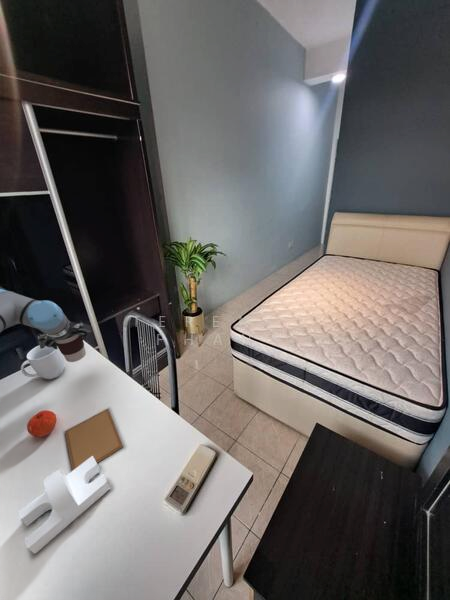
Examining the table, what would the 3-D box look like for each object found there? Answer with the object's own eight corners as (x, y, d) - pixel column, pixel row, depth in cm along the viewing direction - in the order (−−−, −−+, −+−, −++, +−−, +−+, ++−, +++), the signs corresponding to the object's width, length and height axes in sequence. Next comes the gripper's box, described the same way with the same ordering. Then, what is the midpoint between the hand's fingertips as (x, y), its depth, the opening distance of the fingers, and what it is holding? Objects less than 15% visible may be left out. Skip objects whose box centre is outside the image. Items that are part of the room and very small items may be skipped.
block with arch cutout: (96, 462, 74) (84, 441, 68) (110, 488, 68) (99, 467, 62) (24, 517, 63) (3, 497, 57) (34, 554, 57) (11, 536, 51)
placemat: (65, 431, 83) (64, 431, 83) (108, 409, 91) (107, 408, 90) (74, 478, 70) (73, 477, 70) (123, 447, 78) (122, 446, 77)
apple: (45, 444, 80) (35, 428, 76) (27, 438, 82) (16, 423, 78) (65, 422, 87) (57, 407, 83) (47, 417, 89) (38, 402, 85)
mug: (27, 391, 100) (12, 367, 94) (30, 375, 108) (16, 352, 102) (69, 376, 107) (57, 352, 100) (68, 361, 115) (57, 339, 109)
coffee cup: (59, 357, 100) (44, 326, 93) (85, 345, 106) (73, 316, 99) (66, 368, 94) (51, 337, 87) (93, 355, 100) (81, 325, 93)
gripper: (17, 350, 74) (40, 361, 94) (97, 325, 84) (103, 339, 104) (11, 328, 76) (35, 342, 95) (91, 305, 86) (97, 323, 105)
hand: (70, 341), depth 99 cm, fingers closed on coffee cup, 10 cm apart
